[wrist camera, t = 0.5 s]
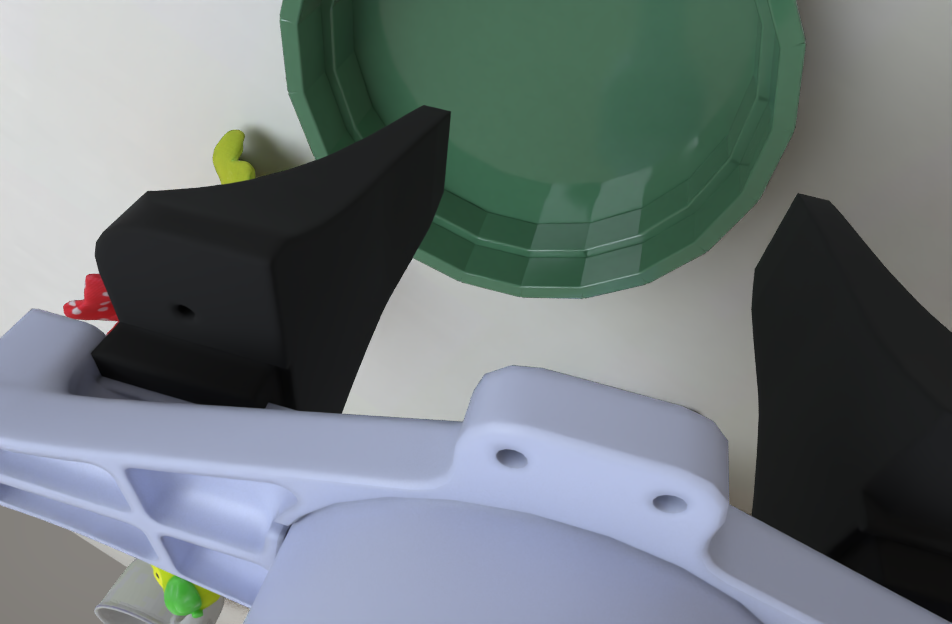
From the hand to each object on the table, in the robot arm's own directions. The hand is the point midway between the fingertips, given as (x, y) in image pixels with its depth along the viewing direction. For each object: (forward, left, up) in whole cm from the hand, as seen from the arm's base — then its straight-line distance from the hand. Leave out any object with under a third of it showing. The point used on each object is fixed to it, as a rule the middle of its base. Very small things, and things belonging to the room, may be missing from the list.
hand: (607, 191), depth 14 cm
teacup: (-62, +29, -10) cm, 69 cm away
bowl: (-2, +3, -10) cm, 11 cm away
